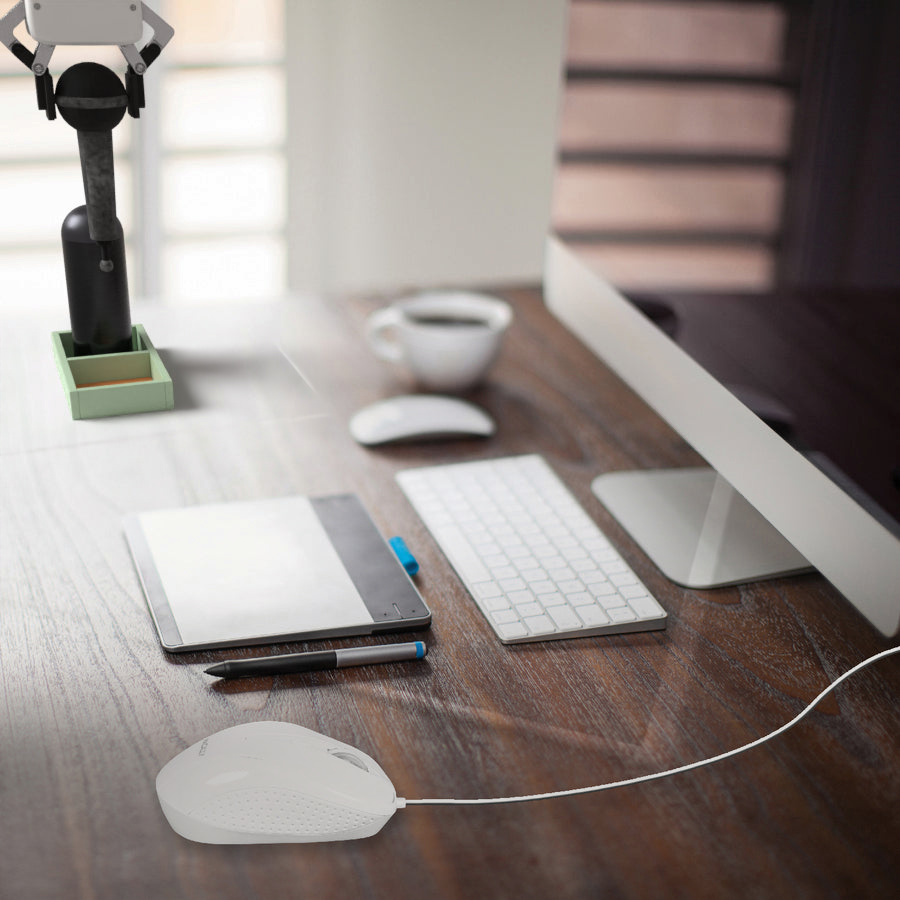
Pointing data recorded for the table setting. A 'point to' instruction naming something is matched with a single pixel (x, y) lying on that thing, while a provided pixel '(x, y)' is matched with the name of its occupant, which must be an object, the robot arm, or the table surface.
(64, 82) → the microphone
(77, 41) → the robot arm
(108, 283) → the black domed cylinder
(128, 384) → the mic rack
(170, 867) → the table surface
